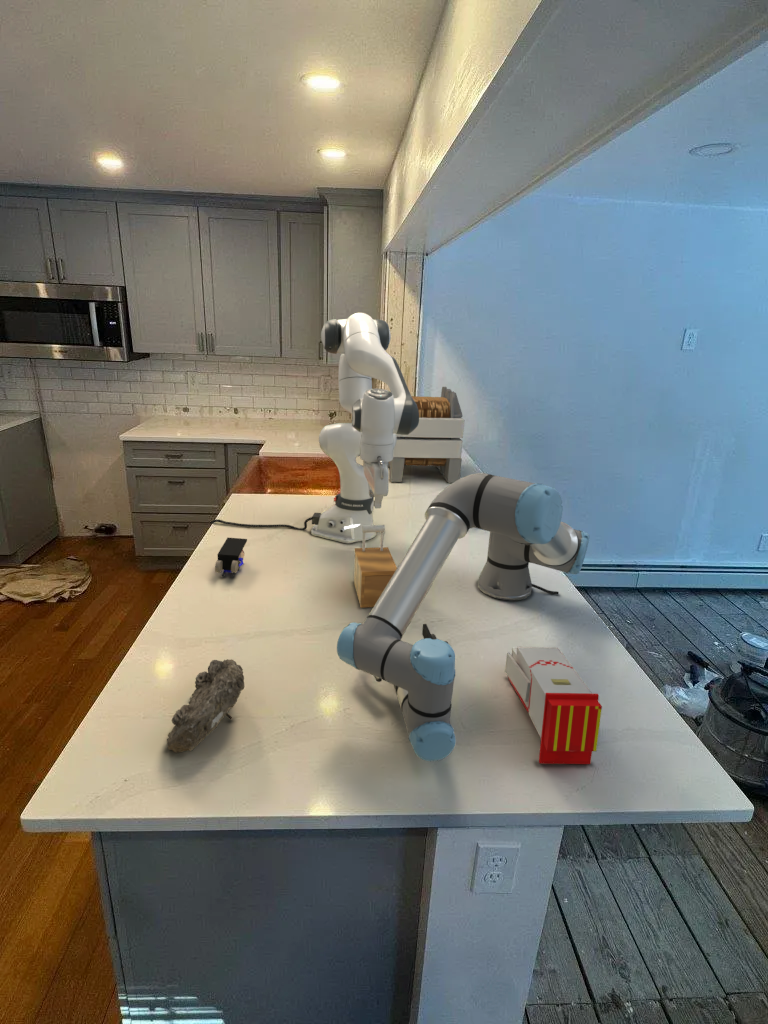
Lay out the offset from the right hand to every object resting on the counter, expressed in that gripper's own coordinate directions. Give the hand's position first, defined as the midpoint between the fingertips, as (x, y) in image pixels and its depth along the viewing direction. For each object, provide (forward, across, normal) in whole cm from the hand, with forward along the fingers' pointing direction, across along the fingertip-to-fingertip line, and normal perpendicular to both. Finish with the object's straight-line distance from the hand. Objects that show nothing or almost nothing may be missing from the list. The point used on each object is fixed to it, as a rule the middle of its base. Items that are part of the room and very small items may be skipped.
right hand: (394, 630), depth 128 cm
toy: (-23, +26, -6) cm, 35 cm away
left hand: (+35, 0, +19) cm, 40 cm away
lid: (+30, 0, +3) cm, 30 cm away
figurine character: (+48, -40, -6) cm, 62 cm away
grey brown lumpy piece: (-17, -38, -6) cm, 42 cm away
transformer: (+149, +41, -6) cm, 155 cm away
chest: (+29, 0, -6) cm, 30 cm away
